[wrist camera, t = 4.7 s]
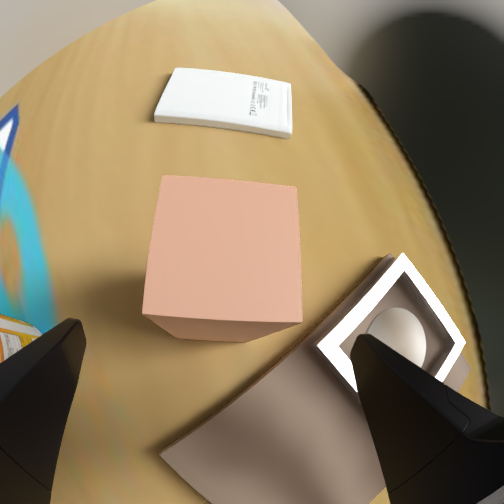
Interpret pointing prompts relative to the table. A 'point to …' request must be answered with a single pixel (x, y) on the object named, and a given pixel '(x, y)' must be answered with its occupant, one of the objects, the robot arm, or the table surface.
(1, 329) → the supplement bottle
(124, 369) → the table surface
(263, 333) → the terracotta pin
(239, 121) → the external hard drive
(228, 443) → the board
